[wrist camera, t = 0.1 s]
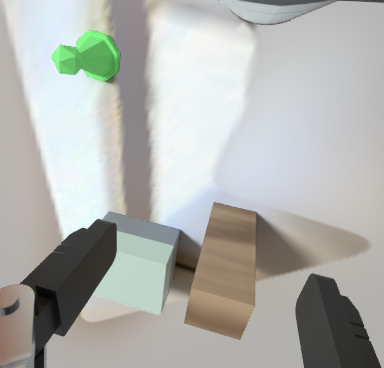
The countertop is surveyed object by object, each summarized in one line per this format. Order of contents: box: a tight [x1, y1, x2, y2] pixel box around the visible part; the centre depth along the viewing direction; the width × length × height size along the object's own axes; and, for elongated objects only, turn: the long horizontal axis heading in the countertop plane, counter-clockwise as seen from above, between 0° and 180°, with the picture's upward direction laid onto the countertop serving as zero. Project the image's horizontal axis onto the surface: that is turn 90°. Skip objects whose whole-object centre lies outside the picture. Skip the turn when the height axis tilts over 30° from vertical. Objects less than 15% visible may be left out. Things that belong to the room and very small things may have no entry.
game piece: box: [51, 30, 121, 81], centre depth 22 cm, size 4×4×6 cm
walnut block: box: [184, 202, 256, 340], centre depth 26 cm, size 5×5×12 cm
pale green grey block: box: [92, 212, 180, 315], centre depth 34 cm, size 10×10×6 cm
